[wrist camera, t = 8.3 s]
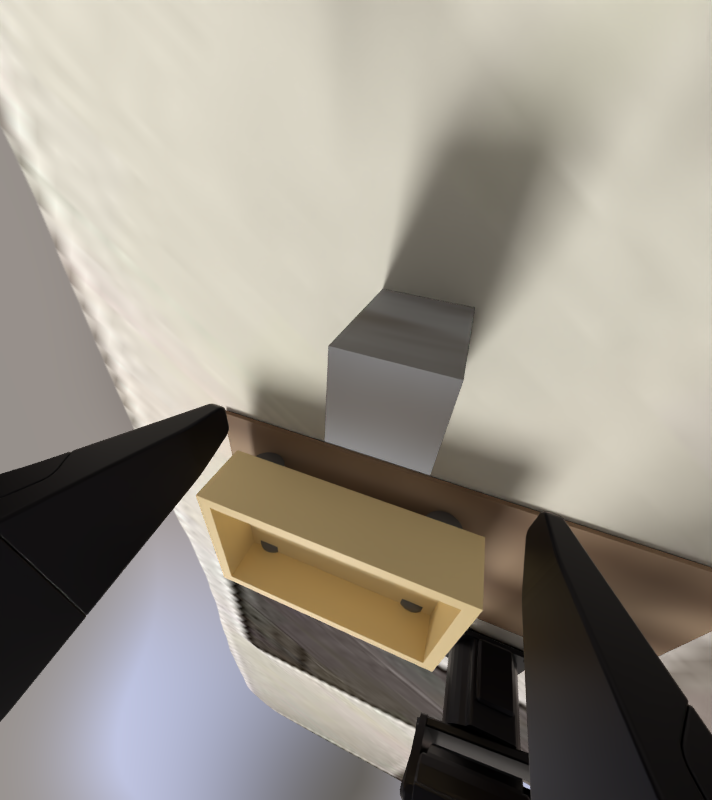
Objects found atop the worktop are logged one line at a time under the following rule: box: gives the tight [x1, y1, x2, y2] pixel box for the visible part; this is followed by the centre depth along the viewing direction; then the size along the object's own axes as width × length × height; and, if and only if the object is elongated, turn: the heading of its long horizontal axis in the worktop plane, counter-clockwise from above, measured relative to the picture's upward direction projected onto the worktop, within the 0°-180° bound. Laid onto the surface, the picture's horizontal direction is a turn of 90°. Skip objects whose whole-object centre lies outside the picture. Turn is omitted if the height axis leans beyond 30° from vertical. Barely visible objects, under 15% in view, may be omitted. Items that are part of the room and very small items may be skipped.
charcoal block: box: [325, 289, 475, 475], centre depth 13 cm, size 4×4×6 cm
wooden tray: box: [196, 450, 485, 672], centre depth 22 cm, size 11×17×5 cm, turn 85°
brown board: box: [226, 410, 712, 656], centre depth 23 cm, size 14×32×1 cm, turn 85°
